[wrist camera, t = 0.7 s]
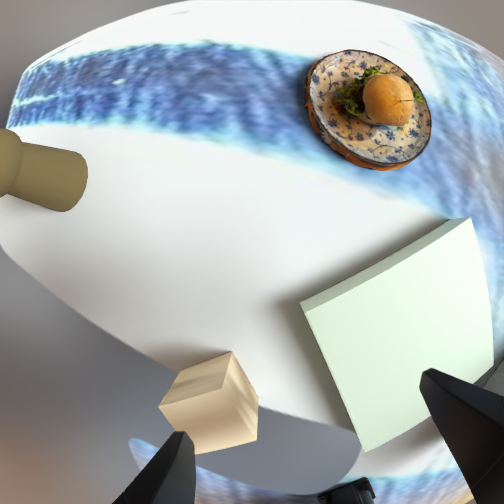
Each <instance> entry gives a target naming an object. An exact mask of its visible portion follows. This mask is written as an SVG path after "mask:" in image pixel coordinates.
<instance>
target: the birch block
mask: <svg viewBox="0 0 504 504" xmlns="http://www.w3.org/2000/svg"><path fill="white" fill-rule="evenodd" d="M158 407H159V409H160V410H161V411H162V413H163V414H164V416H165V417H166V418H167V420H168V421H169V422H170V424H171V425H172V426H173V428H174V429H175V430H176V431H185V432H186V433H187V434H188V435H189V437H190V438H191V440H192V441H193V443H194V446H195V454H200V453H205V452H211V451H215V450H220V449H224V448H229V447H233V446H237V445H240V444H245V443H248V442H252V441H255V440H257V420H258V395H257V394H256V392H255V390H254V388H253V387H252V385H251V383H250V382H249V380H248V378H247V376H246V375H245V373H244V371H243V369H242V368H241V366H240V364H239V362H238V361H237V359H236V357H235V355H234V353H233V351H231V352H229V353H226V354H224V355H221V356H218V357H216V358H213V359H210V360H208V361H205V362H202V363H199V364H197V365H194V366H191V367H188V368H185V369H182V370H181V371H180V373H179V374H178V376H177V377H176V379H175V380H174V382H173V384H172V385H171V387H170V388H169V390H168V392H167V393H166V395H165V397H164V398H163V400H162V401H161V403H160V404H159V406H158Z"/></svg>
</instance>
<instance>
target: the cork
mask: <svg viewBox="0 0 504 504" xmlns="http://www.w3.org/2000/svg"><path fill="white" fill-rule="evenodd" d="M87 178H88V170H87V165H86V161H85V159H84V158H83V157H82V155H81V154H79V153H77V152H74V151H69V150H64V149H58V148H53V147H48V146H42V145H36V144H30V143H24V142H22V141H21V139H20V137H19V136H18V135H17V134H16V133H15V132H12V131H10V130H8V129H0V197H2V196H4V195H6V194H9V195H12V196H15V197H17V198H20V199H23V200H26V201H29V202H32V203H35V204H38V205H40V206H43V207H46V208H49V209H52V210H55V211H59V212H65V211H68V210H70V209H71V208H73V207H74V206H75V205H76V204H77V203H78V201H79V200H80V198H81V197H82V195H83V192H84V190H85V188H86V183H87Z"/></svg>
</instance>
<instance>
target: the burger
mask: <svg viewBox="0 0 504 504" xmlns="http://www.w3.org/2000/svg"><path fill="white" fill-rule="evenodd" d="M304 89H306V94H305V95H304V96H303V97H304V98H305V101H306V104H305V107H304V108H307V107H308V109H309V117H310V121H311V124H312V127H313V129H314V131H315V132H316V133H317V134H319V136H320V137H321V139H322V141H323V142H325V143H328V144H329V145H330V146H331V147H332V148H333V150H336V151H338V152H339V153H341V154H342V155H343V156H345V158H346V160H347V161H349V162H352V163H354V164H356V165H357V166H361V167H370V168H372V169H373V170H380V171H387V170H395V169H398V168H401V167H403V166H405V165H407V164H408V163H410V162H411V161H413V160H414V159H415V158H417V157H418V156H420V155H421V153H423V151H424V150H425V148H426V147H427V145H428V143H429V141H430V137H431V127H432V120H431V113H430V110H429V107H428V104H427V101H426V98H425V97H424V95H423V93H422V91H421V90H420V88H419V86H418V85H417V84H416V83H415V82H414V81H413V79H412V78H411V77H410V76H409V75H408V74H407V73H406V72H404V71H403V70H402V69H401V68H400V67H399V66H397V65H396V64H394V63H392V62H391V61H390V60H388V59H386V58H384V57H382V56H379V55H377V54H374V53H370V52H367V51H361V50H344V51H341V52H337V53H334V54H331V55H328V56H324V57H323V59H321V60H319V61H318V62H315V63H314V64H313V65H312V66H311V68H310V70H309V72H308V74H307V76H306V81H305V85H304Z"/></svg>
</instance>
